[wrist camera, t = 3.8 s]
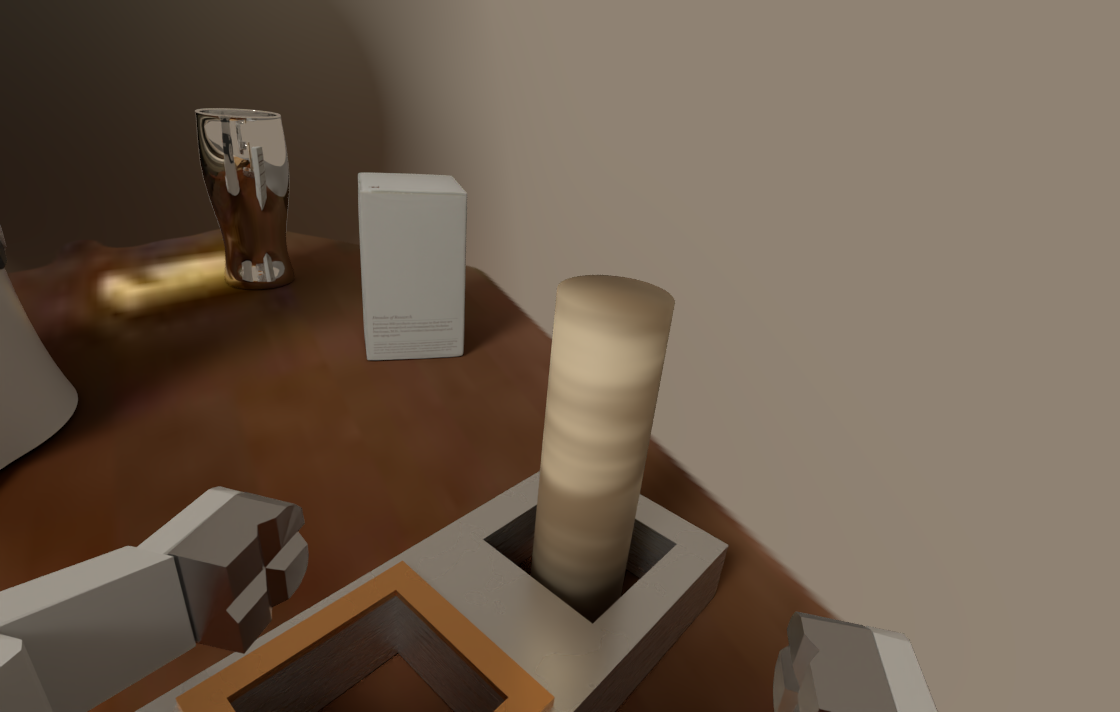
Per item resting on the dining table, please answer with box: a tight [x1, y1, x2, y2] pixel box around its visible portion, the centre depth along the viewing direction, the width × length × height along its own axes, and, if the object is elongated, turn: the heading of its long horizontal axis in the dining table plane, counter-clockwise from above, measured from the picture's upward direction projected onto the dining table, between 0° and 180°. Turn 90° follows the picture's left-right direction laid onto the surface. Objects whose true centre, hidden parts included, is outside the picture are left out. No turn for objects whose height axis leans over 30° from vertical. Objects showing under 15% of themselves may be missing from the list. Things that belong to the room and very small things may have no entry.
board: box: [135, 471, 729, 712], centre depth 21 cm, size 23×9×3 cm, turn 139°
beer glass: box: [195, 108, 295, 290], centre depth 54 cm, size 7×7×15 cm
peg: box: [530, 275, 675, 624], centre depth 23 cm, size 4×4×14 cm
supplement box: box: [358, 173, 467, 360], centre depth 46 cm, size 7×7×13 cm
